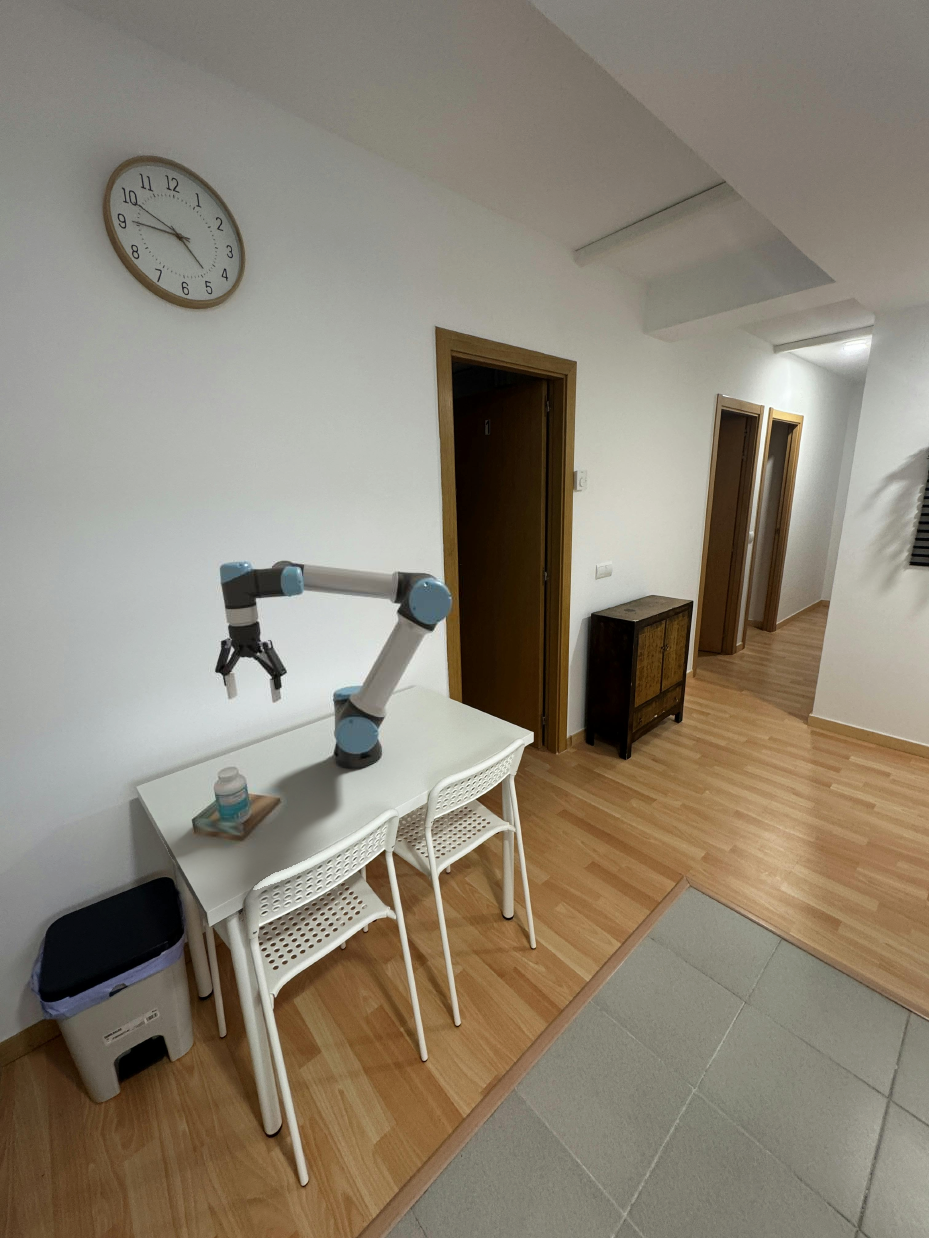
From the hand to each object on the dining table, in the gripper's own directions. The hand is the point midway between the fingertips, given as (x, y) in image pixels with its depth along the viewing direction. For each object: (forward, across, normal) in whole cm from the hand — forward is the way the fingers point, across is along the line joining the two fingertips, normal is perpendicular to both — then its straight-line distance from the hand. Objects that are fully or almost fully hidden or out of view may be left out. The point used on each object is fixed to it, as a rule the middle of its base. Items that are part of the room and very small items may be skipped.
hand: (254, 699), depth 134 cm
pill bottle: (+27, 0, +14) cm, 31 cm away
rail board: (+29, +1, +11) cm, 31 cm away
